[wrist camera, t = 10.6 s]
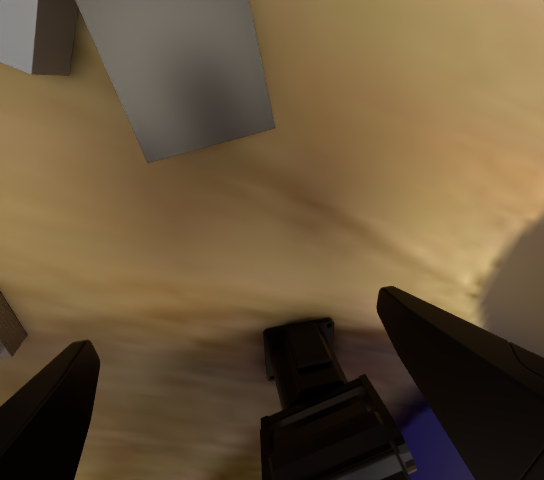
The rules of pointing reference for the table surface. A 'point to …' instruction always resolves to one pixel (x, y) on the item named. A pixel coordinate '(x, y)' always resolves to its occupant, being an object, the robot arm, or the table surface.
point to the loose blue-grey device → (38, 35)
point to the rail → (9, 331)
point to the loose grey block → (182, 70)
